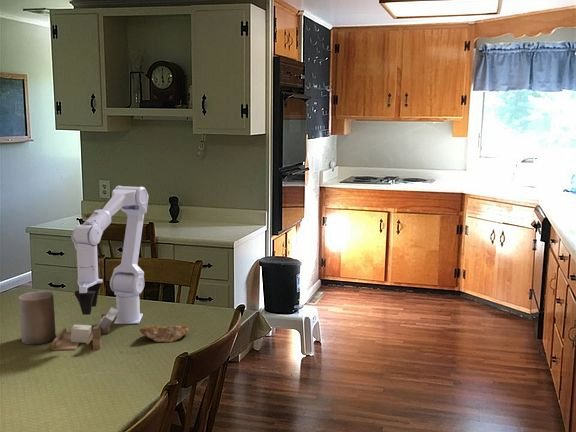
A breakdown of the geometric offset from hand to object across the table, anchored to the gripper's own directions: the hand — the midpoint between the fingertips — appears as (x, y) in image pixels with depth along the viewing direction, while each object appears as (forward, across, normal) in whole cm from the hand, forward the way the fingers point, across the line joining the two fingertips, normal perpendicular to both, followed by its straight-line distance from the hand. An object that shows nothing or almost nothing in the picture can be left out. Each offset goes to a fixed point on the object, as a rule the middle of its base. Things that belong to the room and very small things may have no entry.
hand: (89, 310), depth 187 cm
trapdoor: (+6, 0, -5) cm, 8 cm away
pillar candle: (+10, +2, +16) cm, 19 cm away
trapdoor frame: (+9, 0, +3) cm, 10 cm away
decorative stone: (+10, +1, -22) cm, 24 cm away
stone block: (+7, 0, +3) cm, 8 cm away
